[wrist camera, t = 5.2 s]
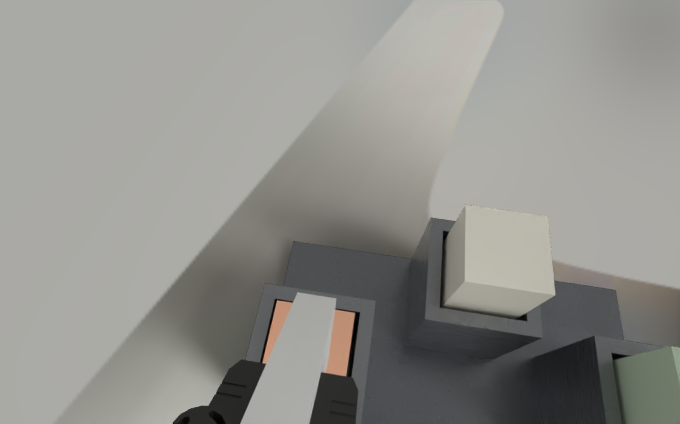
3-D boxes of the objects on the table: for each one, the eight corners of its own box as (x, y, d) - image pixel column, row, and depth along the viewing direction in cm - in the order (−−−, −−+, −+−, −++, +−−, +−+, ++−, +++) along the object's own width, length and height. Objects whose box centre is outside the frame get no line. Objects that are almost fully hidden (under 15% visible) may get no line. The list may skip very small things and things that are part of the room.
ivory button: (493, 270, 29) (548, 216, 22) (494, 332, 27) (555, 295, 20) (432, 261, 30) (465, 204, 22) (428, 321, 28) (464, 281, 20)
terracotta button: (349, 341, 30) (355, 312, 22) (340, 407, 28) (342, 399, 20) (291, 332, 30) (277, 300, 23) (277, 396, 28) (257, 384, 21)
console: (604, 295, 34) (693, 251, 25) (633, 483, 28) (763, 506, 19) (295, 248, 35) (283, 192, 27) (257, 415, 29) (226, 410, 21)
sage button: (645, 381, 26) (771, 362, 18) (659, 460, 24) (808, 475, 16) (574, 369, 26) (671, 346, 19) (583, 447, 24) (695, 455, 17)
